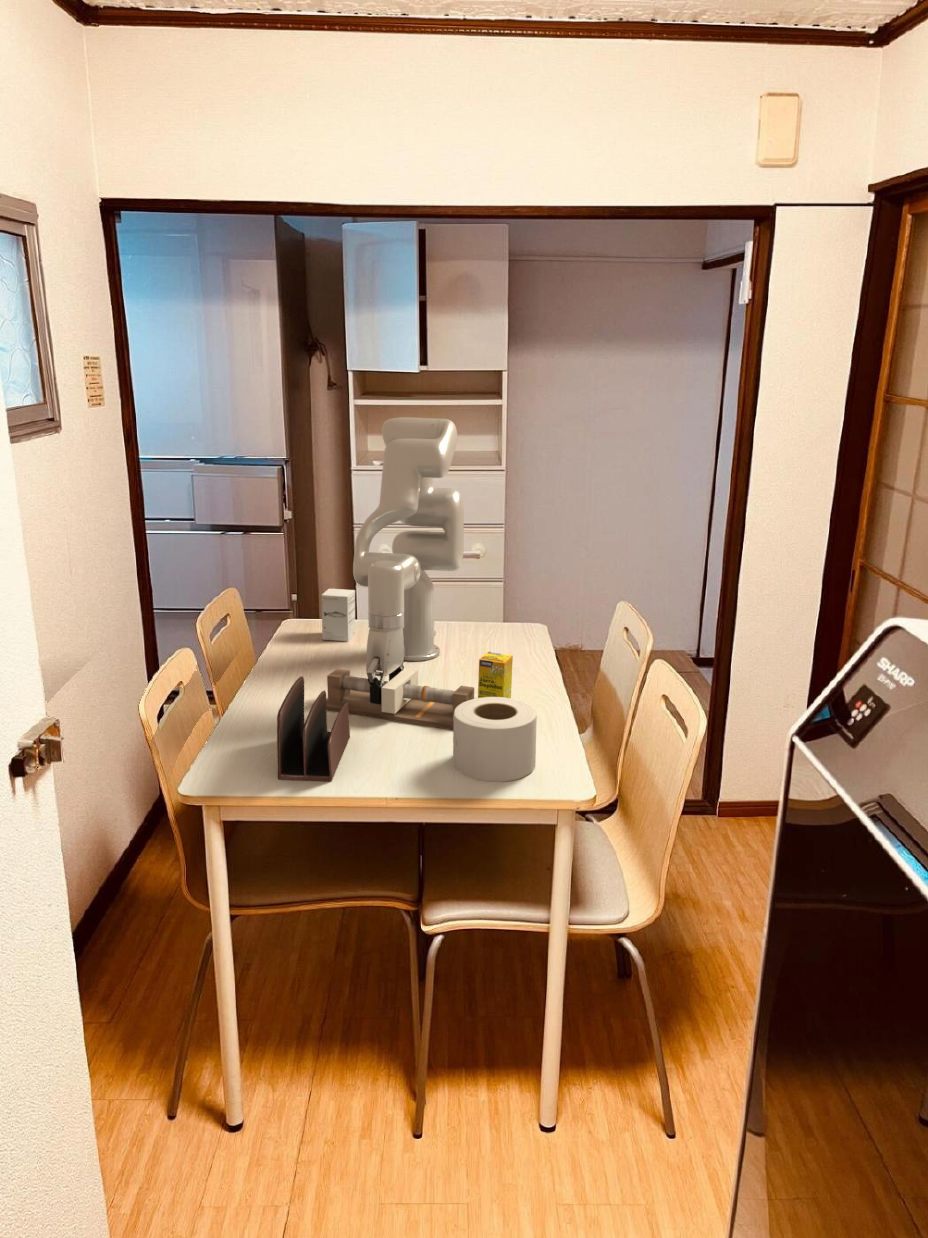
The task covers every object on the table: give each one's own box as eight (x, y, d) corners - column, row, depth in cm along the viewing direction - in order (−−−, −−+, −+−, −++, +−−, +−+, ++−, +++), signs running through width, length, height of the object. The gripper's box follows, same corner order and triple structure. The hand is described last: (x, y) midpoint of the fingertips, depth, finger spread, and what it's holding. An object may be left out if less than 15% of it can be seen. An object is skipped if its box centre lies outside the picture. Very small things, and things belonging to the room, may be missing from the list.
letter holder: (277, 781, 166) (274, 708, 162) (301, 736, 185) (299, 670, 181) (332, 783, 166) (330, 710, 162) (350, 737, 185) (349, 671, 181)
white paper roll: (446, 778, 168) (447, 723, 165) (461, 743, 182) (462, 693, 179) (531, 786, 165) (533, 730, 162) (538, 750, 180) (541, 699, 177)
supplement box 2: (477, 706, 201) (478, 659, 198) (486, 697, 207) (487, 650, 204) (503, 710, 199) (504, 662, 196) (511, 700, 205) (513, 654, 202)
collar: (405, 690, 204) (405, 668, 203) (418, 692, 203) (418, 669, 202) (381, 711, 193) (381, 687, 191) (394, 713, 192) (394, 689, 190)
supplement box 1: (321, 640, 244) (320, 594, 240) (330, 632, 251) (328, 587, 247) (348, 642, 243) (347, 596, 239) (356, 634, 250) (355, 589, 246)
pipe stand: (345, 690, 209) (344, 663, 207) (478, 710, 199) (479, 681, 197) (320, 709, 198) (319, 680, 196) (460, 731, 188) (461, 701, 186)
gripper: (387, 607, 203) (387, 680, 208) (352, 629, 187) (353, 707, 192) (418, 611, 200) (418, 684, 205) (385, 633, 185) (386, 712, 190)
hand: (386, 695), depth 199 cm, fingers open, 9 cm apart
